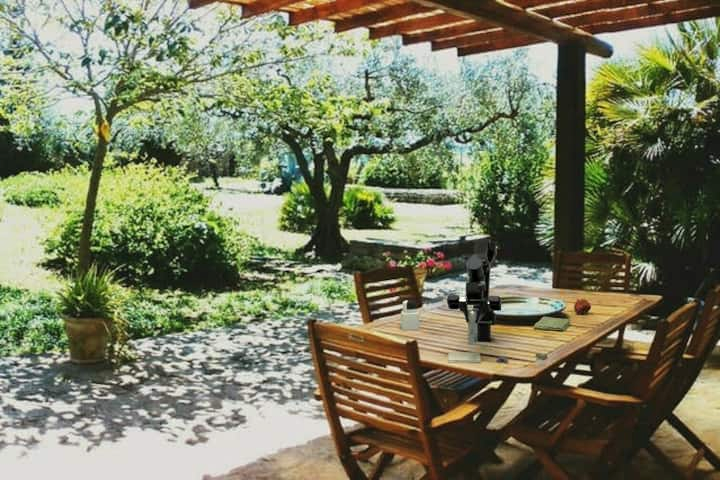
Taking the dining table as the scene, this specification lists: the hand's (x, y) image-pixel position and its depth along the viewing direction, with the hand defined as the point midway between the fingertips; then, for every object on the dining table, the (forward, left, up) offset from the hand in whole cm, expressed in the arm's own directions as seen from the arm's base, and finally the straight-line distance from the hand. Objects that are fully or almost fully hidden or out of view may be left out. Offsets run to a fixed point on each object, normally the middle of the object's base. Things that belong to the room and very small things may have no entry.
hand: (472, 322), depth 253 cm
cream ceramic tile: (-2, -3, -13) cm, 14 cm away
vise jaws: (-1, +17, -13) cm, 22 cm away
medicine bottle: (-52, -25, -14) cm, 59 cm away
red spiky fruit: (-85, +52, -14) cm, 101 cm away
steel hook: (0, 0, -7) cm, 7 cm away
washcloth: (-57, +35, -14) cm, 69 cm away
